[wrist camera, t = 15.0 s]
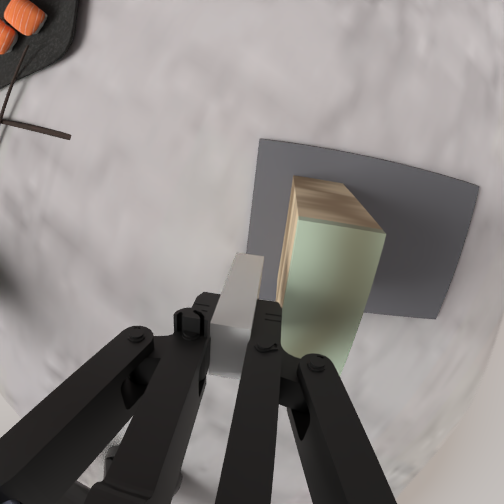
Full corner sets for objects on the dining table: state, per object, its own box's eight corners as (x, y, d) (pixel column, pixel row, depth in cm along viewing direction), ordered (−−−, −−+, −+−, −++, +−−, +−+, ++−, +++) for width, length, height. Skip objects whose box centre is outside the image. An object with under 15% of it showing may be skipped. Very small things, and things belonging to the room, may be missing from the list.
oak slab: (277, 277, 28) (269, 373, 17) (293, 175, 24) (298, 220, 13) (321, 283, 28) (338, 381, 17) (342, 183, 24) (386, 234, 13)
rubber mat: (242, 292, 30) (241, 296, 29) (260, 138, 24) (259, 139, 24) (433, 316, 29) (435, 319, 28) (475, 185, 23) (479, 186, 23)
